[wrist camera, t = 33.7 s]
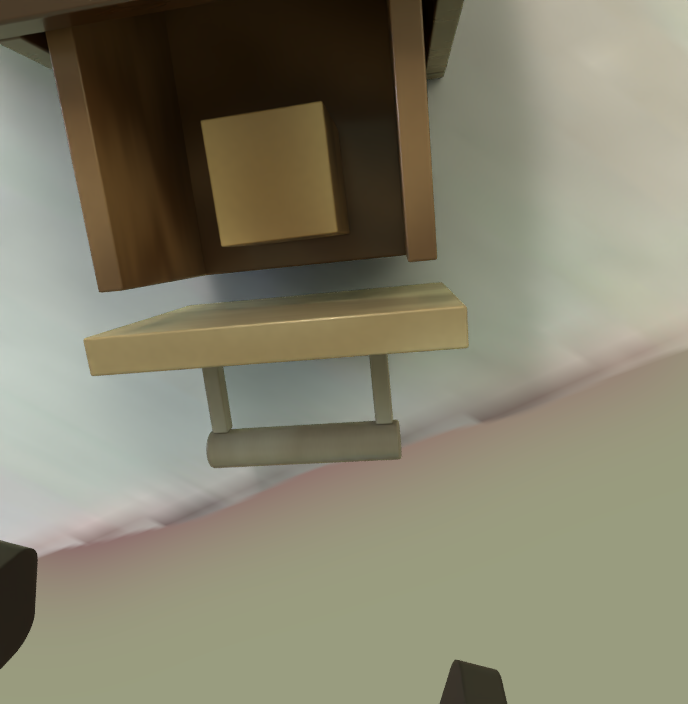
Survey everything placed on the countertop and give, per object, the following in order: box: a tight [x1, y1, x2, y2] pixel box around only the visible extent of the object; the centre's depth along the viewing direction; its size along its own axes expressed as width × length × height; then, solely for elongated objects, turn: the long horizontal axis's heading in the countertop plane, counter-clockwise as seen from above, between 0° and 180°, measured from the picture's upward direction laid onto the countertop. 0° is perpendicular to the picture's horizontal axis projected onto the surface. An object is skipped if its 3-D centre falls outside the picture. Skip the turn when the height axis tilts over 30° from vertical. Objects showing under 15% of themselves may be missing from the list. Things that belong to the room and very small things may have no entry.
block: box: [201, 101, 350, 247], centre depth 18 cm, size 4×4×4 cm
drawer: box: [45, 0, 469, 468], centre depth 17 cm, size 18×11×8 cm, turn 6°
